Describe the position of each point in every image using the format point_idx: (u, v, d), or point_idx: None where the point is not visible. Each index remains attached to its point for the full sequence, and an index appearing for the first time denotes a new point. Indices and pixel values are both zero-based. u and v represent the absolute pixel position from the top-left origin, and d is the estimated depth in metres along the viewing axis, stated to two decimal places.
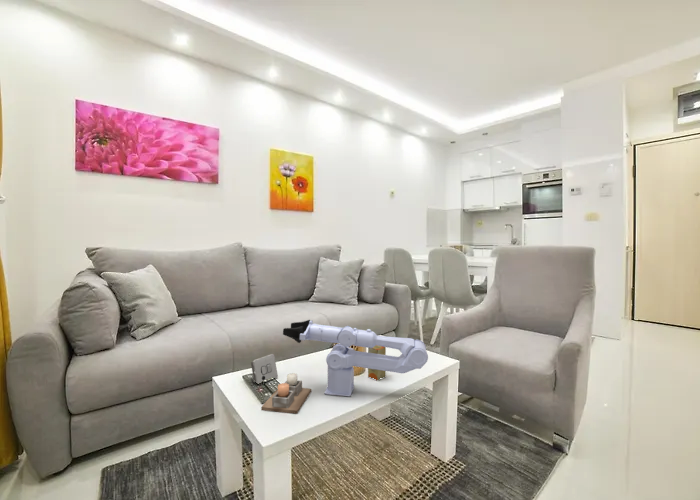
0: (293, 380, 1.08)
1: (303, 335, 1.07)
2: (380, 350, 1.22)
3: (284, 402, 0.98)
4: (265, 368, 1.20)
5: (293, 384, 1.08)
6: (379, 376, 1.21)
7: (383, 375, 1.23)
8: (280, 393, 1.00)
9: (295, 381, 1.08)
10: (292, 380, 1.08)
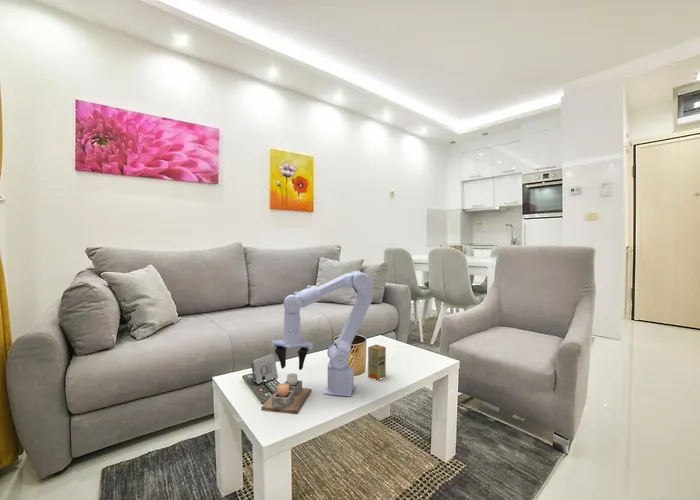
0: (293, 380, 1.08)
1: (311, 345, 1.07)
2: (380, 350, 1.22)
3: (284, 402, 0.98)
4: (265, 368, 1.20)
5: (293, 384, 1.08)
6: (379, 376, 1.21)
7: (383, 375, 1.23)
8: (280, 393, 1.00)
9: (295, 381, 1.08)
10: (292, 380, 1.08)
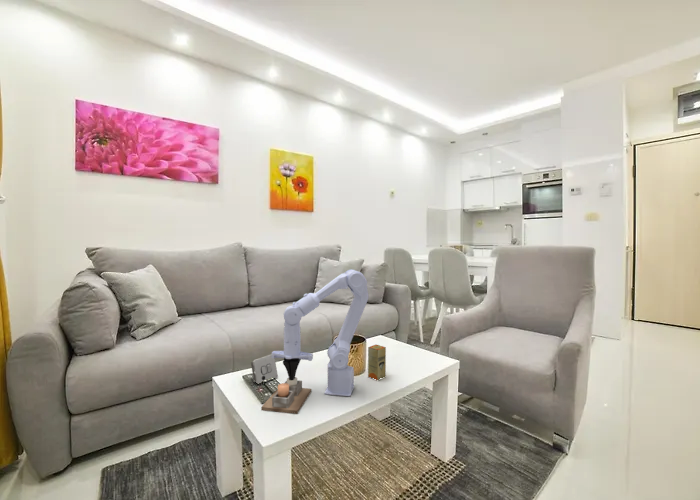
0: (293, 383, 1.08)
1: (311, 356, 1.07)
2: (380, 350, 1.22)
3: (284, 402, 0.98)
4: (265, 368, 1.20)
5: None
6: (379, 376, 1.21)
7: (383, 375, 1.23)
8: (280, 393, 1.00)
9: (295, 385, 1.08)
10: (292, 383, 1.08)
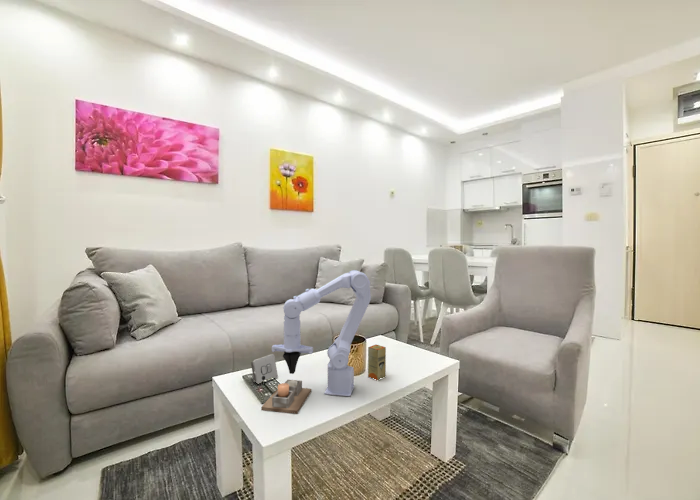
0: None
1: (311, 350, 1.07)
2: (380, 350, 1.22)
3: (284, 402, 0.98)
4: (265, 368, 1.20)
5: None
6: (379, 376, 1.21)
7: (383, 375, 1.23)
8: (280, 393, 1.00)
9: None
10: None
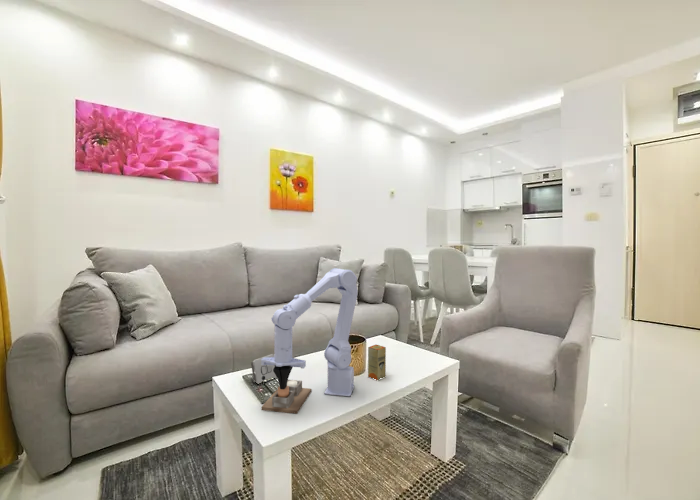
0: None
1: (303, 364, 0.99)
2: (380, 350, 1.22)
3: (284, 402, 0.98)
4: (265, 368, 1.20)
5: None
6: (379, 376, 1.21)
7: (383, 375, 1.23)
8: (280, 395, 1.00)
9: None
10: None
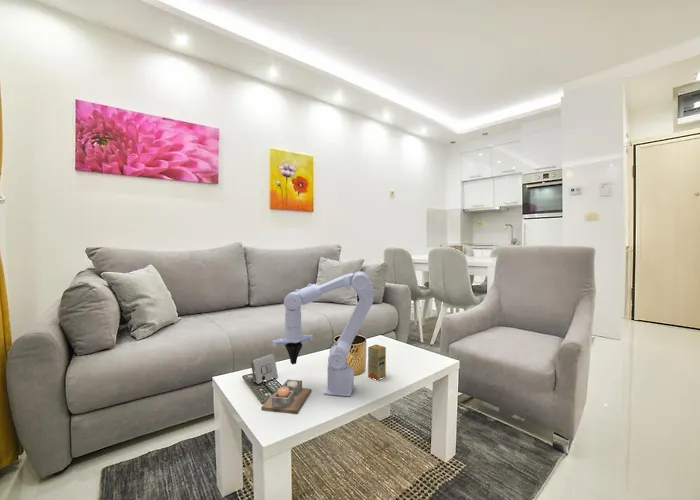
0: None
1: None
2: (380, 350, 1.22)
3: (284, 402, 0.98)
4: (265, 368, 1.20)
5: None
6: (379, 376, 1.21)
7: (383, 375, 1.23)
8: None
9: None
10: None
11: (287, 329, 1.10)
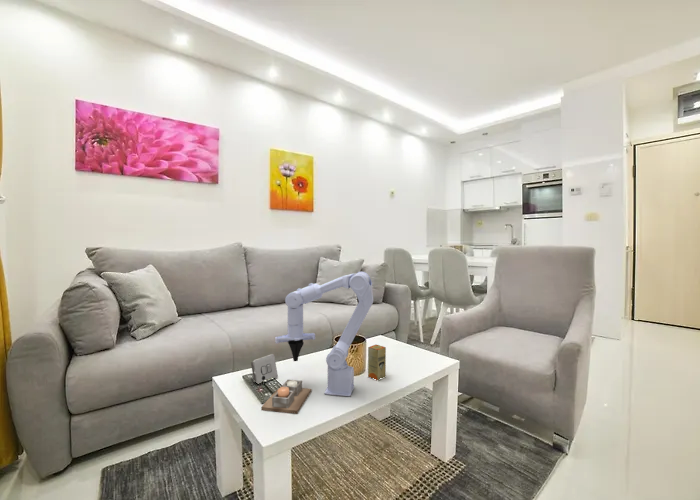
0: None
1: (314, 335, 1.17)
2: (380, 350, 1.22)
3: (284, 402, 0.98)
4: (265, 368, 1.20)
5: None
6: (379, 376, 1.21)
7: (383, 375, 1.23)
8: None
9: None
10: None
11: (288, 327, 1.13)
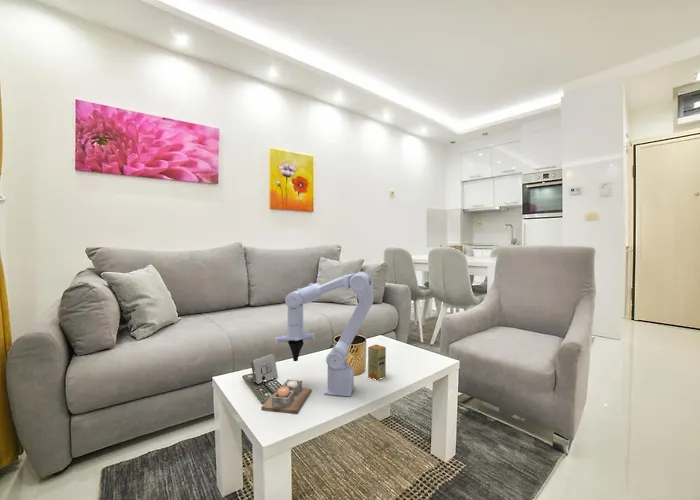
0: None
1: (314, 335, 1.17)
2: (380, 350, 1.22)
3: (284, 402, 0.98)
4: (265, 368, 1.20)
5: None
6: (379, 376, 1.21)
7: (383, 375, 1.23)
8: None
9: None
10: None
11: (288, 327, 1.13)
